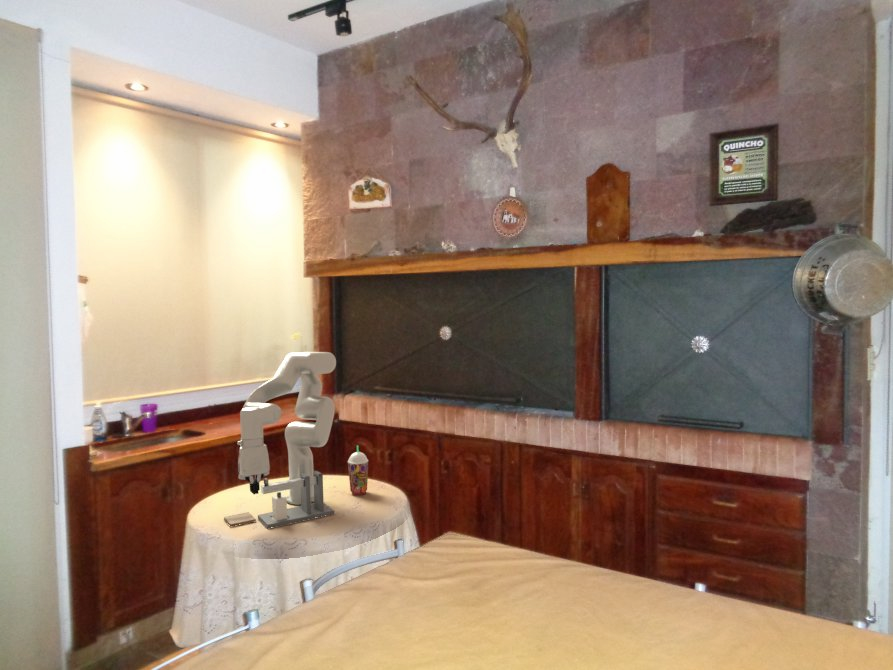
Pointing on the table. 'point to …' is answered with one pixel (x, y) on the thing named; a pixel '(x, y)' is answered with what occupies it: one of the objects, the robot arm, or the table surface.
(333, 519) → the table surface
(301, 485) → the bolt
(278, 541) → the table surface
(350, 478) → the smoothie
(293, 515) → the socket block
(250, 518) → the pad
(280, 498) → the plug
